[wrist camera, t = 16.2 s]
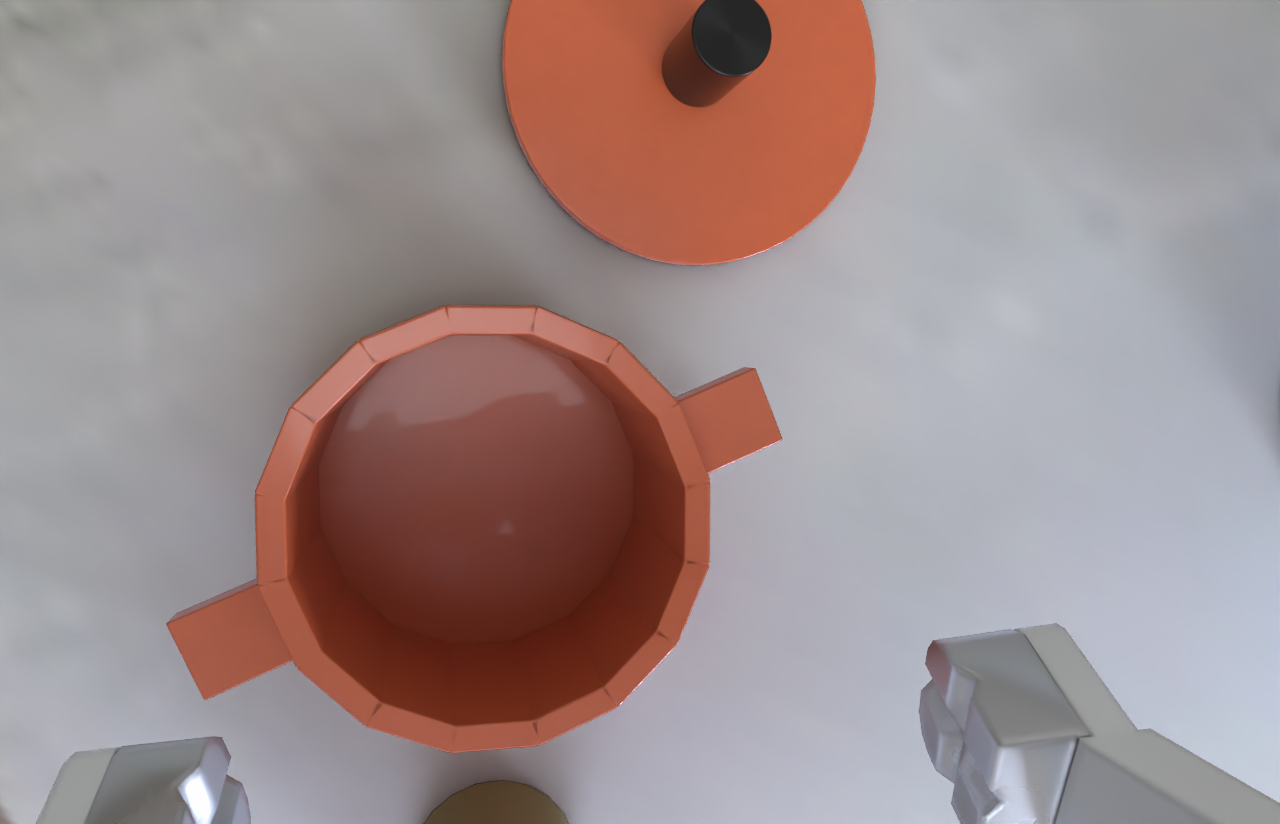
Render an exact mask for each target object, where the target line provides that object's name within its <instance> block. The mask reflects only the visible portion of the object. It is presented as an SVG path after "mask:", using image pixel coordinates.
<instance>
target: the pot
mask: <svg viewBox="0 0 1280 824" xmlns="http://www.w3.org/2000/svg"><path fill="white" fill-rule="evenodd" d="M781 440H782V436H781V434H780V431H779V429H778V426H777V423H776V421H775V418H774V416H773V413H772V410H771V408H770V405H769V402H768V400H767V397H766V395H765V392H764V389H763V387H762V384H761V382H760V379H759V376H758V374H757V371H756V369H755V368H747V367H744V368H741V369H739V370H737V371H734V372H732V373H730V374H728V375H725V376H723V377H721V378H718V379H716V380H714V381H711V382H709V383H707V384H704V385H702V386H700V387H698V388H695V389H693V390H691V391H688V392H686V393H684V394H681V395H679V396H677V397H673V395H672V394H671V393H670V392H669V391H668V390H667V389H666V388H665V387H664V386H663V385H662V384H661V383H660V382H659V381H658V380H657V379H656V378H655V377H654V376H653V375H652V374H651V373H650V372H649V371H648V370H647V369H646V368H645V367H644V366H643V365H642V364H641V363H640V362H639V361H638V360H637V359H636V358H635V357H634V356H633V355H632V353H631V352H630V351H629V350H628V349H627V348H626V347H625V346H624V345H623V344H622V343H620V342H618V340H617V339H614V338H612V337H610V336H607V335H605V334H603V333H600V332H598V331H596V330H593V329H591V328H589V327H586V326H584V325H581V324H579V323H577V322H574V321H572V320H570V319H567V318H565V317H563V316H560V315H558V314H556V313H553V312H551V311H549V310H546V309H544V308H542V307H539V306H538V307H536V306H514V305H447V306H446V307H445V306H441V307H439V308H436V309H434V310H431V311H429V312H426V313H424V314H421V315H419V316H416V317H414V318H411V319H409V320H406V321H404V322H401V323H399V324H396V325H394V326H391V327H389V328H386V329H384V330H381V331H379V332H376V333H374V334H371V335H369V336H366V337H364V338H361V339H360V340H359V341H356V342H355V343H354V344H353V345H352V346H351V347H350V348H349V349H348V350H347V351H346V352H345V353H344V354H343V355H342V356H341V357H340V358H339V359H338V360H337V361H336V362H335V363H334V364H333V365H332V366H331V367H330V368H329V369H328V370H327V371H326V372H325V373H324V374H323V375H321V376H320V377H319V378H318V379H317V380H316V381H315V382H314V383H313V384H312V385H311V386H310V387H309V388H308V389H307V390H306V391H305V392H304V393H303V394H302V395H301V396H300V397H299V398H298V399H297V400H296V401H295V402H294V403H293V404H292V406H291V407H290V408H289V410H288V413H287V415H286V417H285V420H284V422H283V425H282V427H281V430H280V432H279V434H278V437H277V439H276V442H275V444H274V447H273V449H272V451H271V454H270V456H269V459H268V461H267V464H266V466H265V468H264V471H263V473H262V476H261V478H260V481H259V483H258V485H257V488H256V490H255V493H256V494H255V531H256V569H257V579H254V580H252V581H250V582H247V583H245V584H243V585H241V586H238V587H236V588H234V589H231V590H229V591H227V592H224V593H222V594H220V595H217V596H215V597H213V598H211V599H208V600H206V601H204V602H201V603H199V604H197V605H194V606H192V607H190V608H187V609H185V610H183V611H181V612H178V613H176V614H175V615H174V616H173V617H172V618H171V619H170V620H169V621H168V623H167V627H168V629H169V631H170V633H171V635H172V637H173V639H174V641H175V643H176V645H177V647H178V649H179V651H180V653H181V655H182V657H183V659H184V661H185V663H186V665H187V667H188V669H189V671H190V673H191V675H192V677H193V679H194V681H195V683H196V685H197V687H198V689H199V691H200V693H201V695H202V697H203V699H204V700H207V699H209V698H211V697H214V696H216V695H218V694H220V693H223V692H225V691H227V690H229V689H231V688H234V687H236V686H238V685H240V684H243V683H245V682H247V681H249V680H251V679H254V678H256V677H258V676H260V675H263V674H265V673H267V672H269V671H271V670H274V669H276V668H278V667H280V666H283V665H285V664H287V663H289V662H291V661H293V662H294V664H295V666H296V667H297V668H298V670H299V671H300V672H302V673H303V674H304V675H305V676H306V677H308V678H309V679H310V680H311V681H312V682H313V683H315V684H316V685H317V686H318V687H319V688H320V689H322V690H323V691H324V692H325V693H326V694H328V695H329V696H330V697H331V698H332V699H333V700H335V701H336V702H337V703H338V704H339V705H340V706H342V707H343V708H344V709H345V710H346V711H348V712H349V713H350V714H351V715H352V716H353V717H355V718H356V719H357V720H358V721H359V722H361V723H362V724H363V725H366V727H368V728H372V729H375V730H378V731H381V732H384V733H388V734H391V735H394V736H397V737H400V738H404V739H407V740H410V741H413V742H417V743H420V744H423V745H426V746H429V747H433V748H436V749H439V750H442V751H445V752H449V753H450V752H451V753H457V752H469V751H481V750H494V749H506V748H518V747H530V746H538V745H539V744H540V745H541V744H543V743H545V742H548V741H550V740H552V739H554V738H556V737H558V736H560V735H562V734H564V733H566V732H568V731H570V730H572V729H574V728H576V727H578V726H581V725H583V724H585V723H587V722H589V721H591V720H593V719H595V718H597V717H599V716H601V715H603V714H605V713H607V712H609V711H611V710H613V709H616V708H617V706H620V705H621V704H622V703H623V702H624V701H625V700H626V699H627V698H628V696H629V695H630V694H631V693H632V692H633V691H634V690H635V689H636V688H637V687H638V686H639V685H640V684H641V683H642V682H643V681H644V679H645V678H646V677H647V676H648V675H649V674H650V673H651V672H652V671H653V670H654V669H655V668H656V667H657V666H658V665H659V664H660V662H661V661H662V660H663V659H664V658H665V657H666V656H667V655H668V654H669V653H670V652H671V651H672V650H673V649H674V648H675V646H676V645H677V644H676V643H678V642H679V640H680V637H681V635H682V632H683V630H684V627H685V625H686V623H687V620H688V618H689V615H690V613H691V610H692V608H693V605H694V603H695V600H696V598H697V596H698V593H699V591H700V588H701V586H702V583H703V581H704V578H705V576H706V573H707V571H708V568H709V563H710V482H709V481H710V478H709V476H708V474H709V473H711V472H713V471H715V470H718V469H720V468H722V467H724V466H726V465H729V464H731V463H733V462H735V461H738V460H740V459H742V458H744V457H746V456H749V455H751V454H753V453H755V452H758V451H760V450H762V449H764V448H766V447H769V446H771V445H773V444H775V443H778V442H780V441H781Z"/></svg>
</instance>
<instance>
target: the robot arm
mask: <svg viewBox="0 0 1280 824" xmlns="http://www.w3.org/2000/svg"><path fill="white" fill-rule="evenodd" d="M925 664H926V666H927V668H928V670H929V672H930V674H931V676H932V678H933V679H932V680H931V681H930V682H929V683H928V684H927V685H926V686H925V687H924V688H923V689H922V690H921V698H920V707H919V714H920V722H921V730H922V735H923V739H924V742H925V745H926V748H927V752H928V754H929V756H930V758H931V761H932V763H933V765H934V767H935V770H936V771H937V772H939V773H940V774H942V775H943V776H944V777H946V778H947V779H949V780H950V781H951V782H953V783H954V784H955V785H954V791H953V796H952V802H951V804H952V806H953V808H954V810H955V813H956V815H957V817H958V819H959V821H960V823H961V824H1280V803H1278V802H1276V801H1275V800H1273V799H1271V798H1270V797H1268V796H1266V795H1264V794H1263V793H1261V792H1259V791H1257V790H1256V789H1254V788H1252V787H1250V786H1249V785H1247V784H1245V783H1244V782H1242V781H1240V780H1238V779H1237V778H1235V777H1233V776H1231V775H1230V774H1228V773H1226V772H1225V771H1223V770H1221V769H1219V768H1218V767H1216V766H1214V765H1212V764H1211V763H1209V762H1207V761H1205V760H1204V759H1202V758H1200V757H1199V756H1197V755H1195V754H1193V753H1192V752H1190V751H1188V750H1186V749H1185V748H1183V747H1181V746H1180V745H1178V744H1176V743H1174V742H1173V741H1171V740H1169V739H1167V738H1166V737H1164V736H1162V735H1160V734H1159V733H1157V732H1155V731H1154V730H1152V729H1142V730H1137V728H1136V727H1135V725H1134V724H1133V723H1132V721H1131V720H1130V718H1129V717H1128V716H1127V714H1126V713H1125V711H1124V710H1123V709H1122V707H1121V706H1120V704H1119V703H1118V702H1117V700H1116V699H1115V697H1114V696H1113V695H1112V693H1111V692H1110V691H1109V689H1108V688H1107V686H1106V685H1105V684H1104V682H1103V681H1102V679H1101V678H1100V677H1099V675H1098V674H1097V672H1096V671H1095V670H1094V668H1093V667H1092V665H1091V664H1090V663H1089V661H1088V660H1087V658H1086V657H1085V656H1084V654H1083V653H1082V652H1081V650H1080V649H1079V647H1078V646H1077V645H1076V643H1075V642H1074V640H1073V639H1072V638H1071V636H1070V635H1069V633H1068V632H1067V631H1066V629H1065V628H1063V627H1061V626H1060V625H1058V624H1057V623H1055V624H1048V625H1041V626H1033V627H1026V628H1019V629H1015V630H1011V629H1009V630H1002V631H995V632H988V633H981V634H974V635H967V636H960V637H953V638H946V639H939V640H933V641H932V643H931V644H930V646H929V648H928V651H927V657H926V663H925ZM230 759H231V756H230V754H229V752H228V750H227V747H226V745H225V743H224V741H223V739H222V737H204V738H195V739H185V740H176V741H167V742H157V743H148V744H139V745H129V746H122V747H116V748H107V749H99V750H90V751H81V752H75V753H74V754H73V755H72V756H71V757H70V758H69V759H68V760H67V761H66V762H65V763H64V764H63V765H62V767H61V769H60V771H59V773H58V776H57V778H56V780H55V782H54V784H53V786H52V789H51V791H50V793H49V795H48V797H47V799H46V802H45V804H44V806H43V808H42V810H41V813H40V815H39V817H38V819H37V821H36V823H35V824H250V823H251V816H250V810H249V804H248V798H247V796H246V793H245V790H244V788H243V785H242V783H240V782H239V781H237V780H235V779H234V778H232V777H230V776H228V775H227V774H226V773H227V770H228V766H229V762H230Z"/></svg>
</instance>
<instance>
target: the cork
mask: <svg viewBox="0 0 1280 824" xmlns="http://www.w3.org/2000/svg"><path fill="white" fill-rule="evenodd" d="M425 824H568V822H567V819H566V817H565V814H564V813H563V812H562V811H561V810H560V809H559V807H558V806H557V805H556V804H555V803H554V802H553V801H552V800H551V798H550V797H549V796H547V795H545V794H543V793H542V792H540V791H538V790H536V789H534V788H532V787H531V786H529V785H526V784H520V783H514V782H509V781H503V780H502V781H495V782H487V783H479V784H475V785H473V786H471V787H469V788H466V789H464V790H462V791H460V792H458V793H455V794H453V795H452V796H450V797H449V798H448V799H447V800H446V801H445V802H443V803H442V804H441V805H440V806H439V807H438V808H436V809H435V810H434V811H433V812H432V813H431V815H430V816H429V818H428V819H427V821H426V822H425Z"/></svg>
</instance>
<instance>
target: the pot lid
mask: <svg viewBox="0 0 1280 824" xmlns="http://www.w3.org/2000/svg"><path fill="white" fill-rule="evenodd" d="M502 72H503V84H504V93H505V98H506V102H507V107H508V112H509V117H510V120H511V122H512V125H513V128H514V131H515V134H516V137H517V140H518V142H519V144H520V147H521V149H522V151H523V153H524V155H525V157H526V159H527V161H528V163H529V165H530V166H531V168H532V170H533V171H534V173H535V174H536V176H537V177H538V179H539V180H540V182H541V183H542V185H543V186H544V188H545V189H546V190H547V191H548V192H549V193H550V195H551V196H552V197H553V198H554V199H555V200H556V202H557V203H558V204H559V205H560V206H561V207H562V208H563V209H564V210H565V211H566V212H567V213H568V214H569V215H570V216H572V217H573V218H574V219H575V220H576V221H577V222H578V223H579V224H580V225H582V226H583V227H585V228H586V229H588V230H589V231H591V232H592V233H593V234H595V235H596V236H598V237H599V238H601V239H602V240H604V241H606V242H608V243H610V244H612V245H614V246H616V247H618V248H620V249H622V250H624V251H627V252H629V253H632V254H635V255H638V256H640V257H643V258H646V259H650V260H655V261H660V262H664V263H669V264H680V265H693V266H695V265H712V264H721V263H726V262H731V261H736V260H741V259H744V258H747V257H750V256H753V255H756V254H759V253H762V252H764V251H767V250H769V249H771V248H773V247H775V246H777V245H779V244H781V243H783V242H785V241H787V240H788V239H790V238H791V237H792V236H794V235H795V234H797V233H798V232H800V231H801V230H803V229H804V228H805V227H807V226H808V225H809V224H810V223H811V222H812V221H813V220H814V219H815V218H817V217H818V216H819V215H820V214H821V213H822V212H823V211H824V210H825V209H826V208H827V206H828V205H829V204H830V203H831V202H832V200H833V199H834V198H835V197H836V196H837V194H838V193H839V192H840V190H841V189H842V187H843V185H844V184H845V182H846V181H847V179H848V178H849V176H850V174H851V173H852V171H853V169H854V166H855V164H856V162H857V160H858V158H859V156H860V154H861V152H862V149H863V145H864V142H865V139H866V136H867V133H868V130H869V126H870V121H871V116H872V111H873V106H874V95H875V81H876V77H875V56H874V49H873V43H872V37H871V31H870V27H869V24H868V20H867V17H866V13H865V10H864V6H863V4H862V1H861V0H511V2H510V5H509V9H508V14H507V19H506V25H505V31H504V36H503V52H502Z"/></svg>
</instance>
